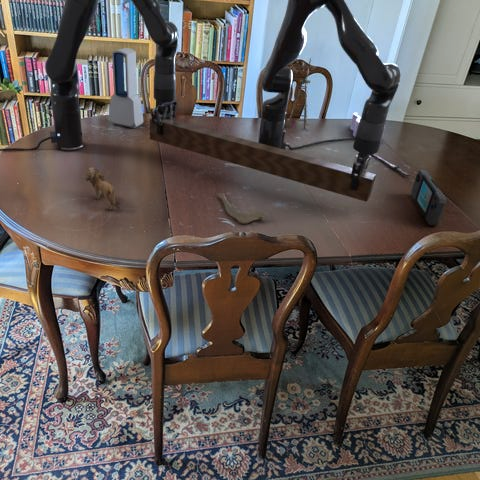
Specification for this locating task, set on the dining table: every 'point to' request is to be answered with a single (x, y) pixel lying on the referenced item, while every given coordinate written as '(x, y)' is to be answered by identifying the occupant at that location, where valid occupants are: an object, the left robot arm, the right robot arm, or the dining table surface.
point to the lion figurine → (101, 186)
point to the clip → (356, 123)
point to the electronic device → (125, 102)
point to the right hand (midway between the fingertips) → (355, 186)
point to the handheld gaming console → (428, 197)
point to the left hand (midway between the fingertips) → (164, 132)
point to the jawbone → (239, 215)
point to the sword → (391, 165)
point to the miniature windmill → (301, 95)
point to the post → (264, 158)
